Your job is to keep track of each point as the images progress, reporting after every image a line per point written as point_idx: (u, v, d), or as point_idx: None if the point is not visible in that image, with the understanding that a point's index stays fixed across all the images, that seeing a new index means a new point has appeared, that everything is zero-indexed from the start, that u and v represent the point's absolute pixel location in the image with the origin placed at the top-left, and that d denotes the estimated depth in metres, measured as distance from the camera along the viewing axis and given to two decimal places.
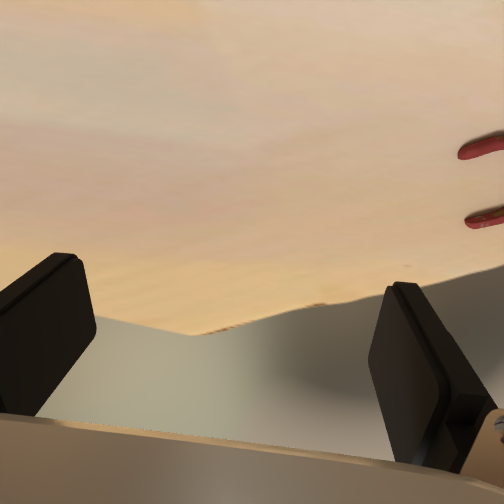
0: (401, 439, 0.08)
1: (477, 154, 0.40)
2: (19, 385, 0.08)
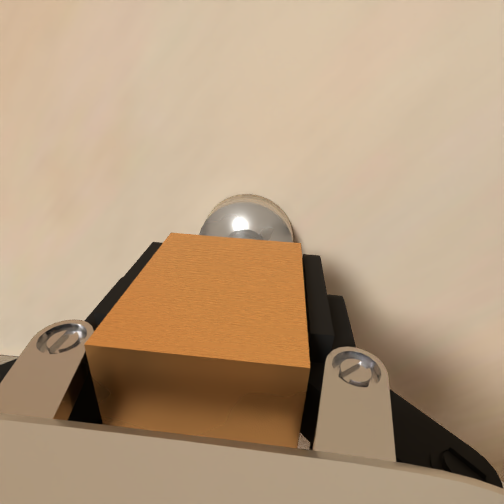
0: None
1: None
2: None
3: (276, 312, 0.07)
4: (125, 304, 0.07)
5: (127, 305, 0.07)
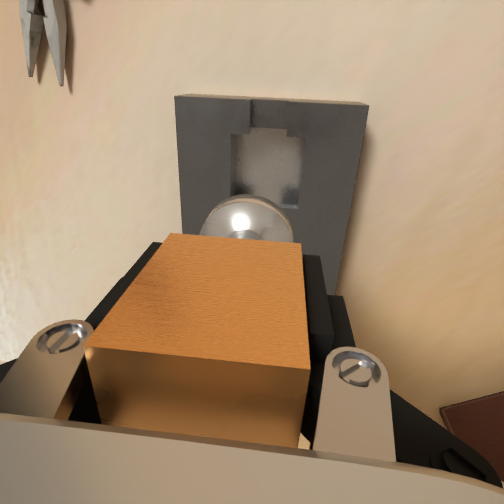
0: None
1: None
2: None
3: (276, 312, 0.07)
4: (125, 305, 0.07)
5: (126, 306, 0.07)
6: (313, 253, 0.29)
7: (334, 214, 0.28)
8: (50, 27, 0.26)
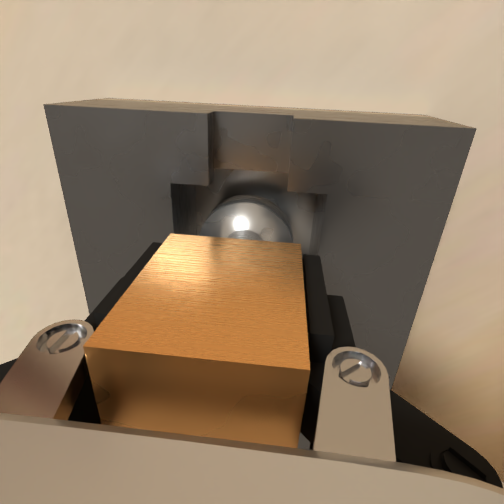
0: None
1: None
2: None
3: (276, 313, 0.07)
4: (125, 305, 0.07)
5: (126, 306, 0.07)
6: None
7: (379, 333, 0.14)
8: None
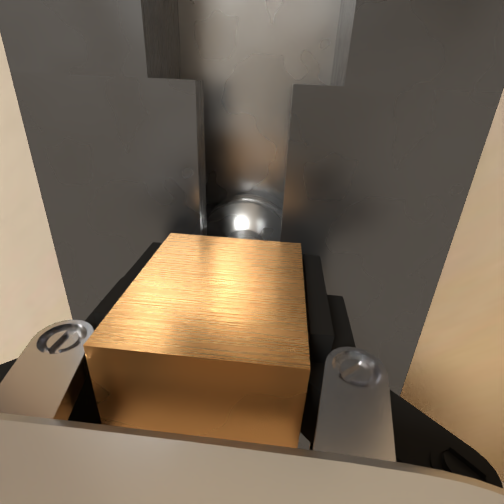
0: None
1: None
2: None
3: (276, 312, 0.07)
4: (125, 305, 0.07)
5: (126, 306, 0.07)
6: (379, 222, 0.11)
7: (453, 100, 0.09)
8: None
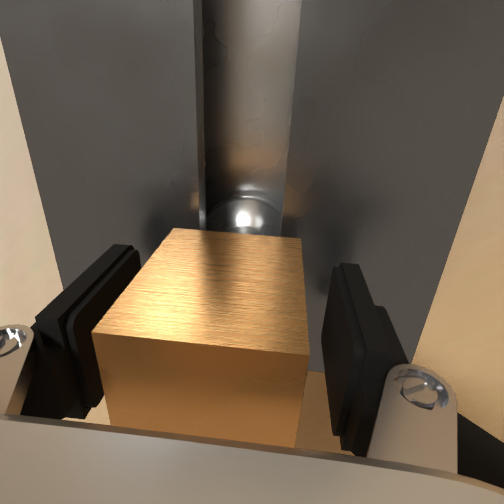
0: (334, 401, 0.09)
1: None
2: (95, 364, 0.09)
3: (276, 303, 0.07)
4: (130, 295, 0.07)
5: (132, 296, 0.07)
6: (424, 29, 0.09)
7: None
8: None
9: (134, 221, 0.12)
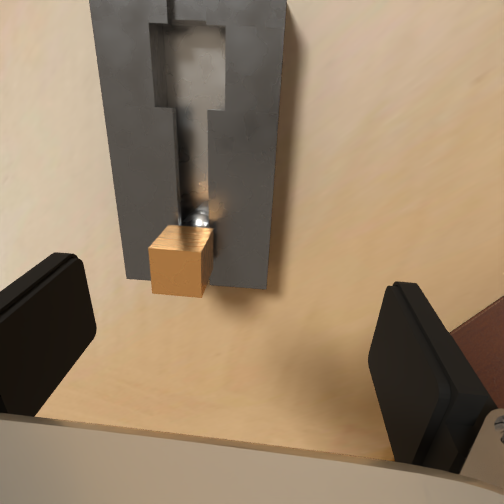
0: (401, 439, 0.08)
1: None
2: (19, 385, 0.08)
3: (197, 243, 0.27)
4: (156, 241, 0.27)
5: (157, 242, 0.27)
6: (245, 162, 0.28)
7: (263, 115, 0.26)
8: None
9: (153, 223, 0.31)
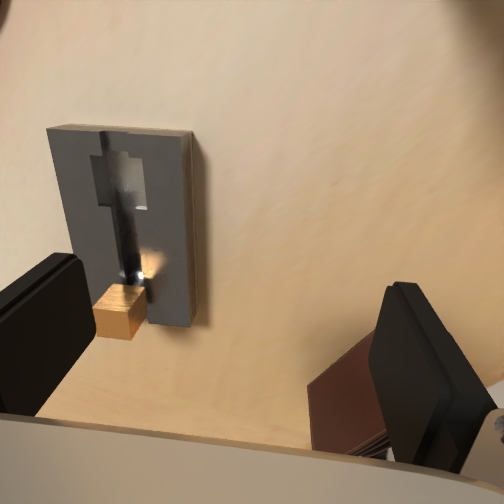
0: (401, 439, 0.08)
1: None
2: (19, 385, 0.08)
3: (127, 303, 0.38)
4: (99, 301, 0.38)
5: (99, 301, 0.38)
6: (165, 243, 0.39)
7: (173, 213, 0.37)
8: None
9: (104, 280, 0.42)
